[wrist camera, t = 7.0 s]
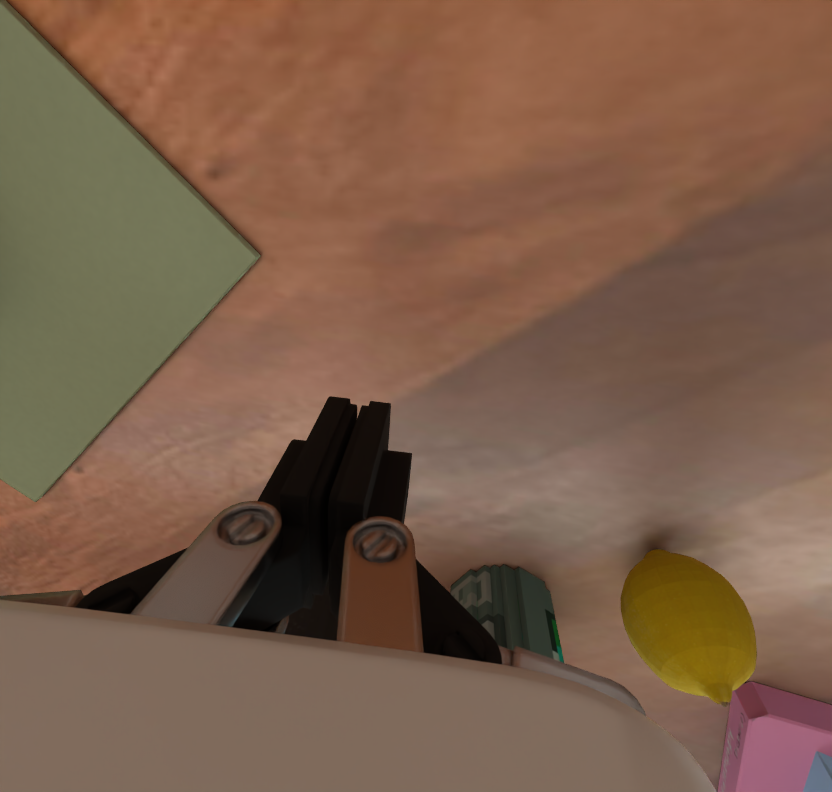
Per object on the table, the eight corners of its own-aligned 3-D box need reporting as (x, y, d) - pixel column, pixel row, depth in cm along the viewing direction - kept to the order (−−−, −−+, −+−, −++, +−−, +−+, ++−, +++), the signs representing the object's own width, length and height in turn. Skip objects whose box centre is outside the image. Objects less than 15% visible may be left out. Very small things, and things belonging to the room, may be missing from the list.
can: (504, 641, 31) (537, 1008, 18) (431, 602, 30) (408, 966, 16) (569, 596, 28) (663, 988, 15) (492, 551, 27) (522, 936, 14)
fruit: (598, 588, 28) (644, 738, 21) (609, 519, 25) (667, 665, 18) (695, 590, 27) (777, 745, 20) (718, 520, 24) (820, 671, 17)
